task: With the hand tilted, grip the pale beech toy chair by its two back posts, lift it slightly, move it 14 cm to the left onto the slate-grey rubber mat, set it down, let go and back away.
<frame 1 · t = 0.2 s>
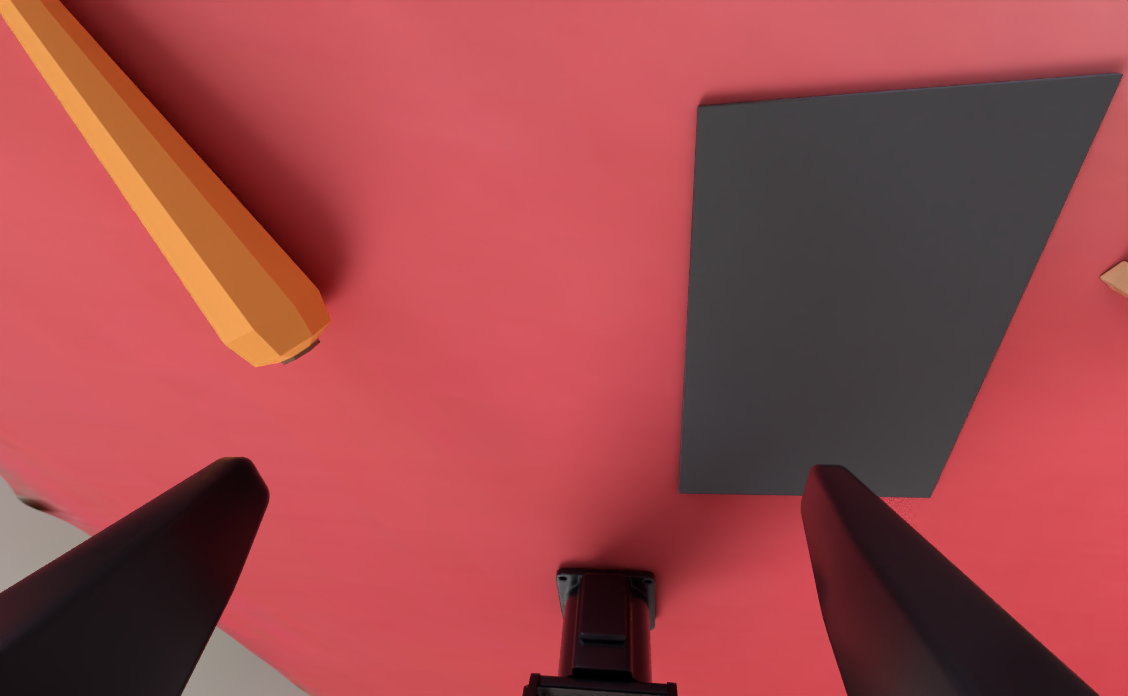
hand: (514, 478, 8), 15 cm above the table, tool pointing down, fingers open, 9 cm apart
mat: (836, 339, 23), on the table
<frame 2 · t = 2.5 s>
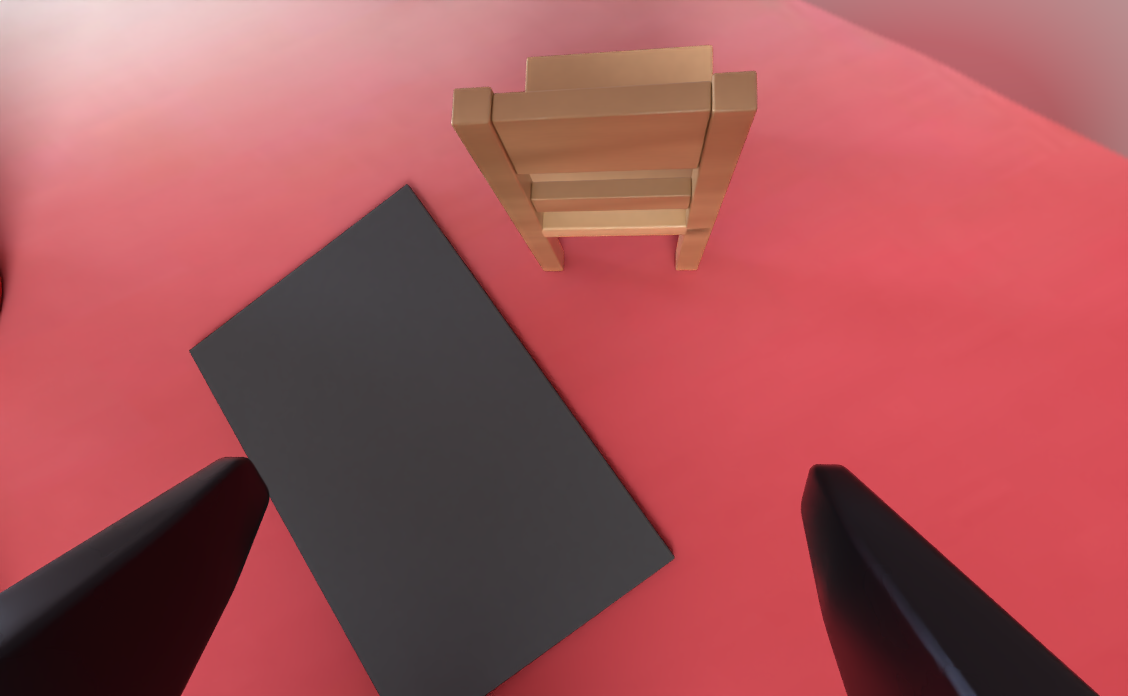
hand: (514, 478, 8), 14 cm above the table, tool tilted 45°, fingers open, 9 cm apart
toy chair: (620, 198, 23), on the table
mat: (411, 444, 23), on the table
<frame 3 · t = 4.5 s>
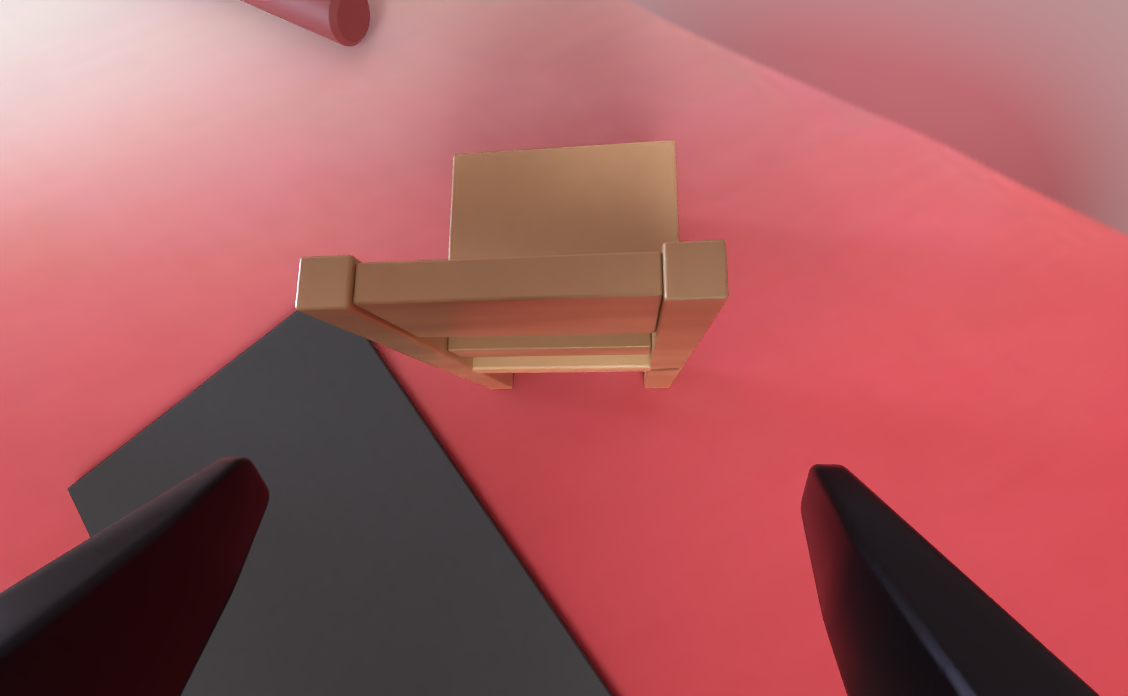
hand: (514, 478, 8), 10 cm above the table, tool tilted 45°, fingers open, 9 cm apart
toy chair: (577, 301, 20), on the table
mat: (331, 605, 19), on the table
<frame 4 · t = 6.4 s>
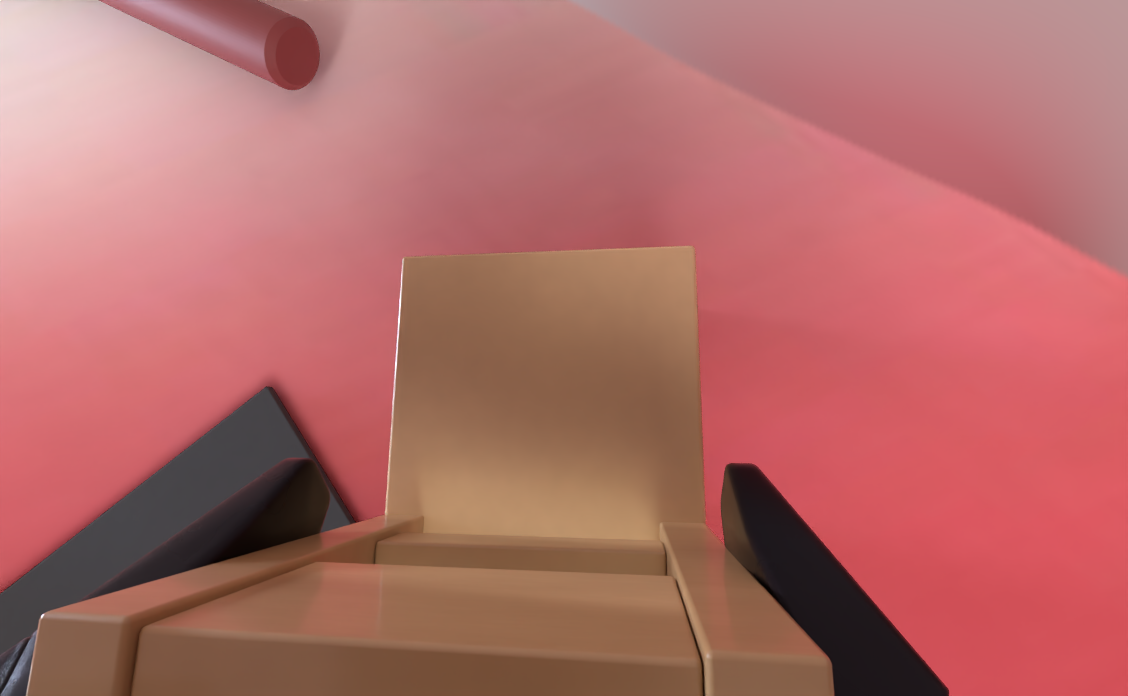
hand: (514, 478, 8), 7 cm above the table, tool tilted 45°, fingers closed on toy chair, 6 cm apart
toy chair: (568, 413, 16), on the table, touching gripper
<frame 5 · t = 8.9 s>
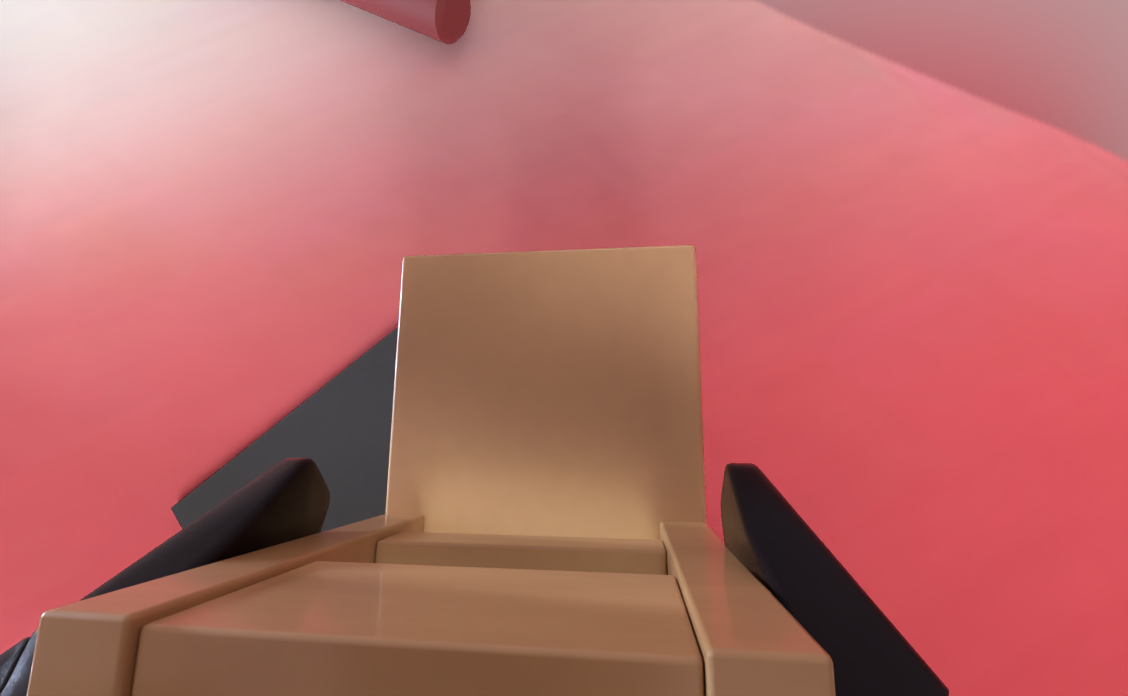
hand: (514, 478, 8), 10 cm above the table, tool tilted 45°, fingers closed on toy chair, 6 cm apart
toy chair: (568, 412, 16), point 3 cm above the table, touching gripper
mat: (456, 628, 18), on the table
when the fingers open (8 cm above the table, at t = 11.8 s): toy chair stays where it is, resting on mat.
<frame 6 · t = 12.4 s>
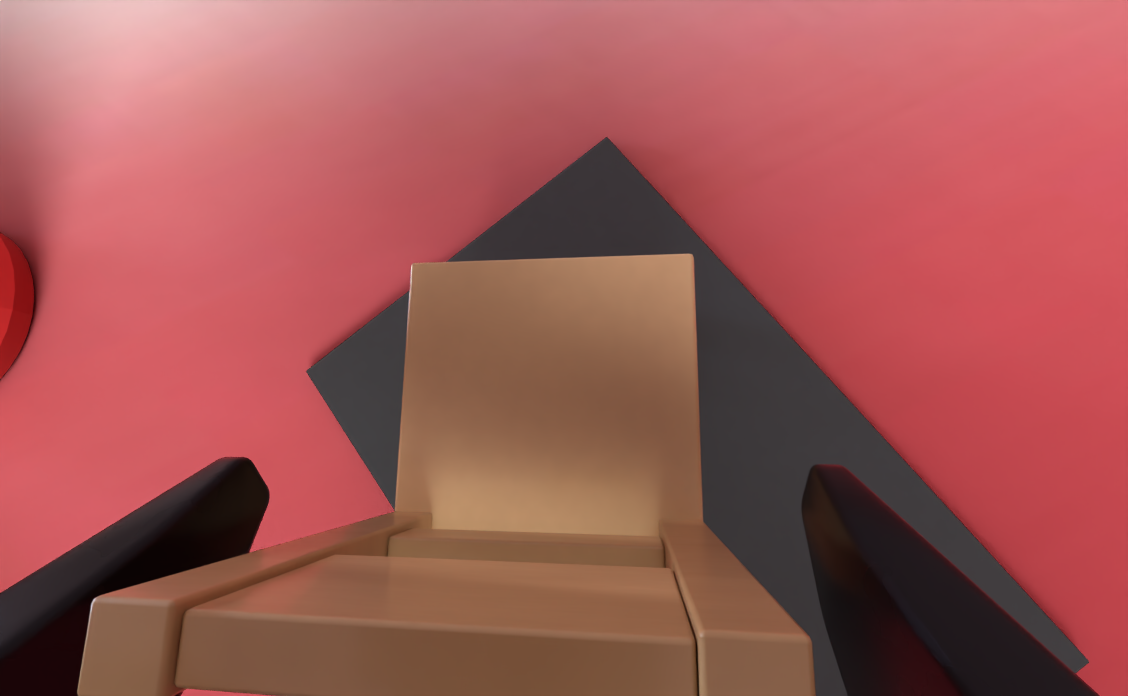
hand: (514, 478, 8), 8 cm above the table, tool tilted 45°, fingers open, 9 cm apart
toy chair: (570, 414, 16), resting on mat
mat: (643, 495, 16), on the table
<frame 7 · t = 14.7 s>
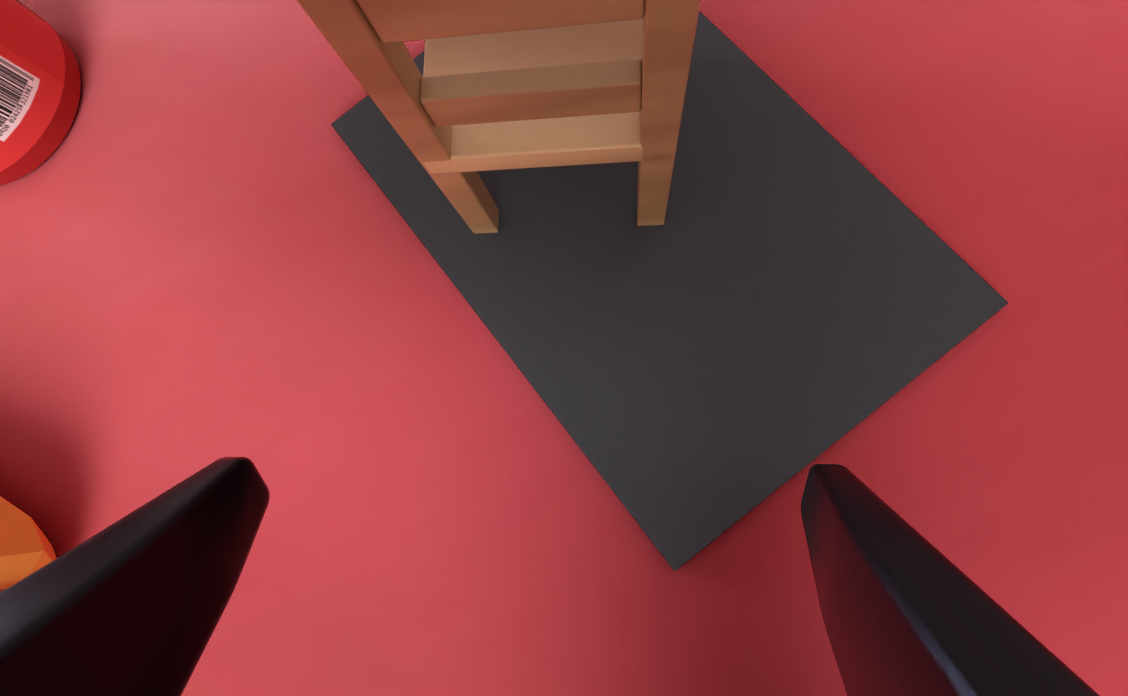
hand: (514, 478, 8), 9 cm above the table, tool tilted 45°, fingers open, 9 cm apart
canned food: (14, 109, 22), on the table
toy chair: (566, 142, 18), resting on mat
mat: (631, 207, 18), on the table
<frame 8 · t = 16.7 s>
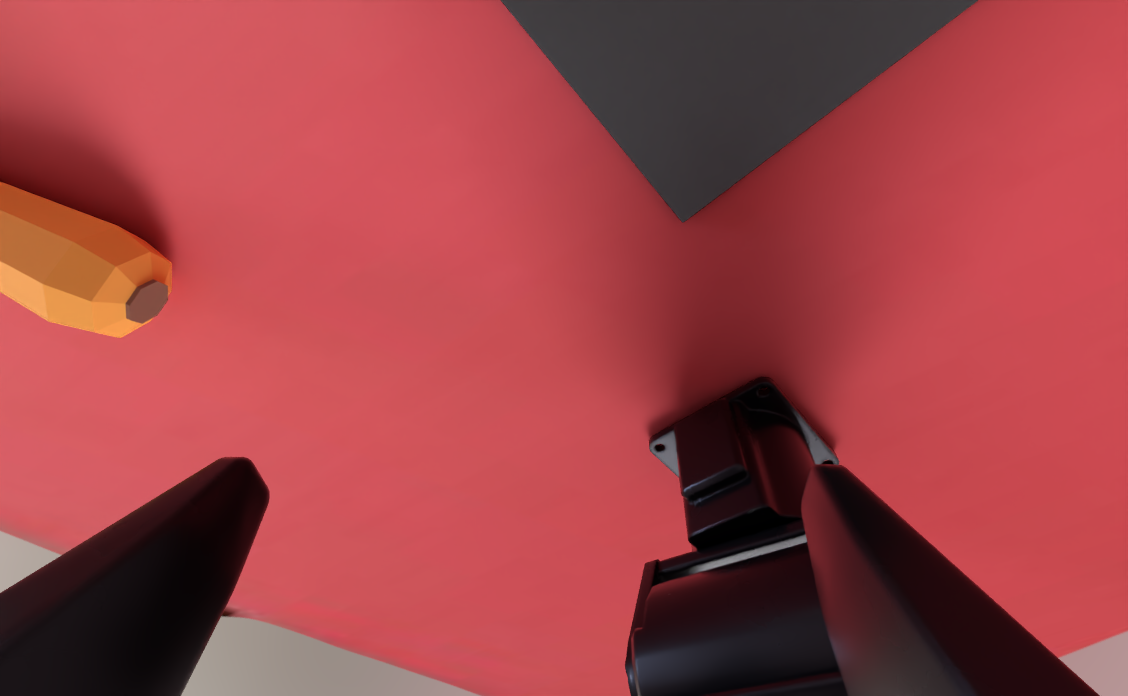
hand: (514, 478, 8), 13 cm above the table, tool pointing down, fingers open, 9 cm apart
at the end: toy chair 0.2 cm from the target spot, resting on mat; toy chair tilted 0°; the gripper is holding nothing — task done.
